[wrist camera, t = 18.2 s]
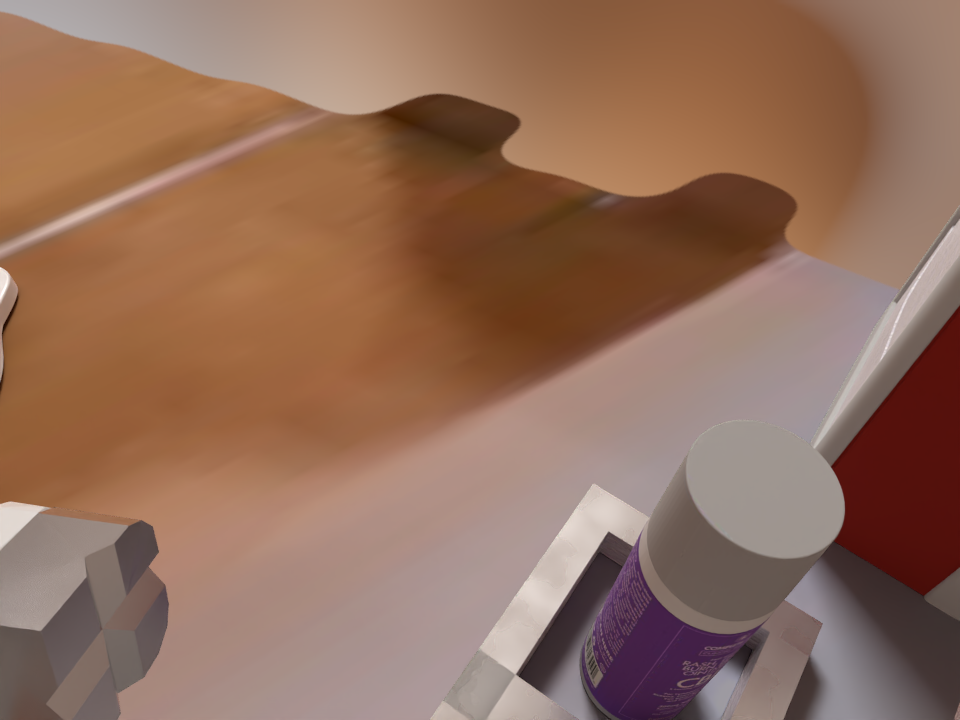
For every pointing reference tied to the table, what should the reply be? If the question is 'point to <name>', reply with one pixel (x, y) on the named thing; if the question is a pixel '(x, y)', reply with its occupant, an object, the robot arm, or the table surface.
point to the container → (710, 567)
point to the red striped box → (906, 433)
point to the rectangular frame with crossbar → (591, 529)
